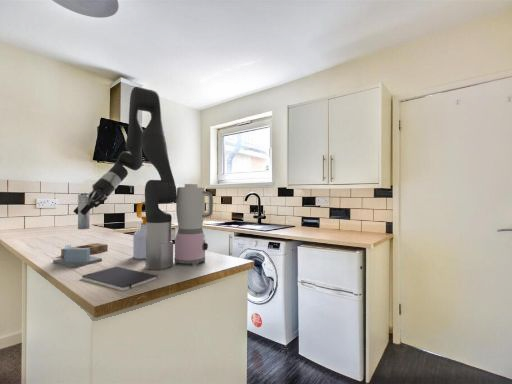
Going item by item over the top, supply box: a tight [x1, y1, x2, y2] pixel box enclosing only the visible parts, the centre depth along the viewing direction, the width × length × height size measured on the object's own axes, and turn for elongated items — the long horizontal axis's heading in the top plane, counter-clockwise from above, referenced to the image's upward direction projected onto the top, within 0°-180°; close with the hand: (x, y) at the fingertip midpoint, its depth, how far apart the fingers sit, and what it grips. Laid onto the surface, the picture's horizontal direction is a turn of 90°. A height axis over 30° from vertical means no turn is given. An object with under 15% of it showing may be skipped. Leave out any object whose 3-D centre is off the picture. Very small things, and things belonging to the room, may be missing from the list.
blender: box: [173, 183, 214, 267], centre depth 109 cm, size 16×12×32 cm
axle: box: [77, 194, 91, 230], centre depth 109 cm, size 4×4×14 cm
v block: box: [52, 244, 103, 268], centre depth 108 cm, size 15×11×6 cm
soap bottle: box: [132, 201, 146, 260], centre depth 117 cm, size 9×9×25 cm
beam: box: [60, 242, 109, 257], centre depth 122 cm, size 16×8×3 cm, turn 153°
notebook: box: [81, 266, 159, 291], centre depth 88 cm, size 13×2×21 cm
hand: (78, 213), depth 108 cm, fingers closed on axle, 4 cm apart
